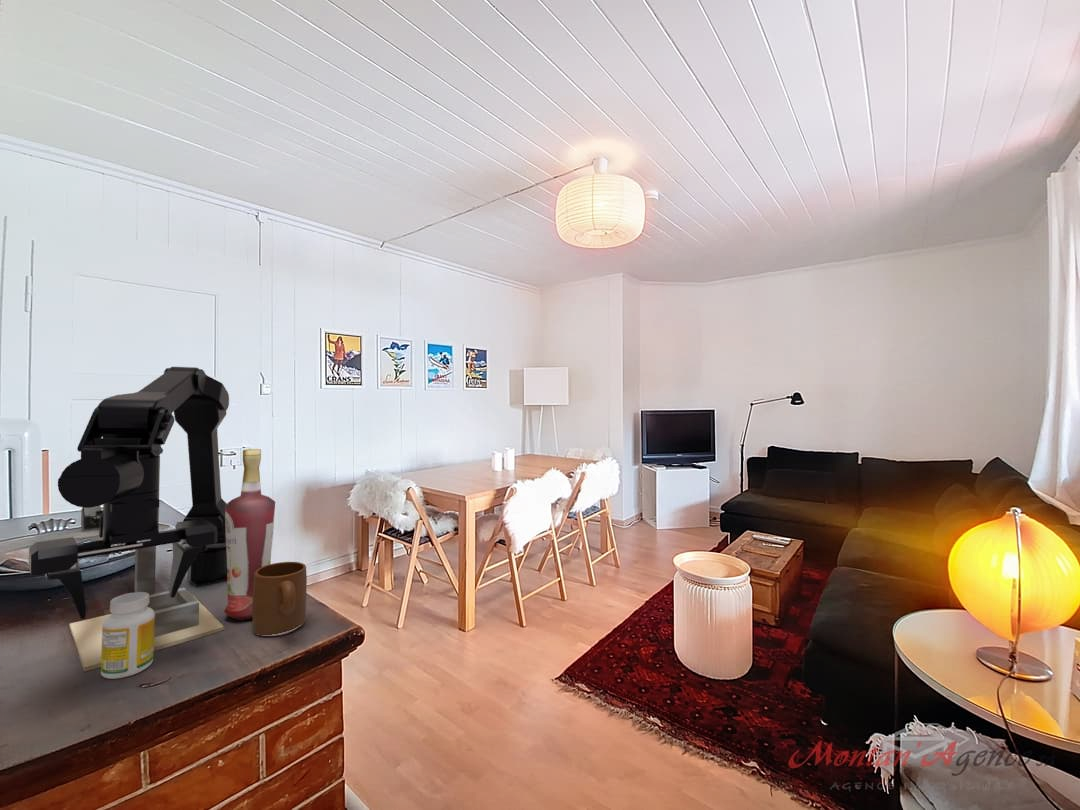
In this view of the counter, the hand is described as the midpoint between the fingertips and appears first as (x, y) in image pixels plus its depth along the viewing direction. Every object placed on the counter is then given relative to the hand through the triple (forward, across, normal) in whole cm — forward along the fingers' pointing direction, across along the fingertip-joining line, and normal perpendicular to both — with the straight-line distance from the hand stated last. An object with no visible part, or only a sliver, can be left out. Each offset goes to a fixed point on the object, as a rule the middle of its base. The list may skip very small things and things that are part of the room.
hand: (129, 606), depth 64 cm
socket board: (+8, -4, -12) cm, 15 cm away
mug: (+8, -18, +4) cm, 20 cm away
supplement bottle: (+8, 0, 0) cm, 9 cm away
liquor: (+8, -16, -6) cm, 20 cm away
